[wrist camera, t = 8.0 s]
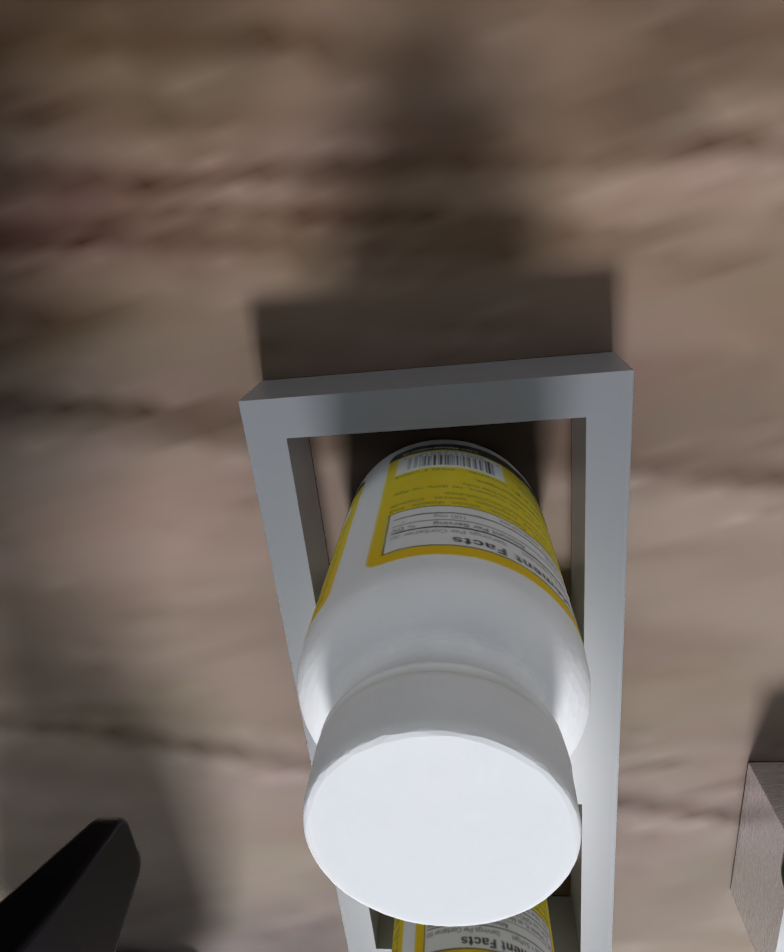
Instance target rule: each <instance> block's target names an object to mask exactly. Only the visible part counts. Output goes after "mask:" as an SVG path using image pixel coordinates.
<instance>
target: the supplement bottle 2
mask: <svg viewBox="0 0 784 952" xmlns="http://www.w3.org/2000/svg"><path fill="white" fill-rule="evenodd" d="M392 952H554V947H553V939H552V932H551V925H550V918H549V911H548V904H547V898H546V899H545V900H543V901H542V902H540V903H539V904H537V905H536V906H534V907H533V908H531V909H528V910H526V911H524V912H522V913H519V914H517V915H514V916H512V917H509V918H505V919H502V920H499V921H496V922H491V923H486V924H479V925H470V926H449V927H448V926H435V925H424V924H418V923H413V922H408V921H404V920H401V919H397V918H394V931H393V943H392Z"/></svg>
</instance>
